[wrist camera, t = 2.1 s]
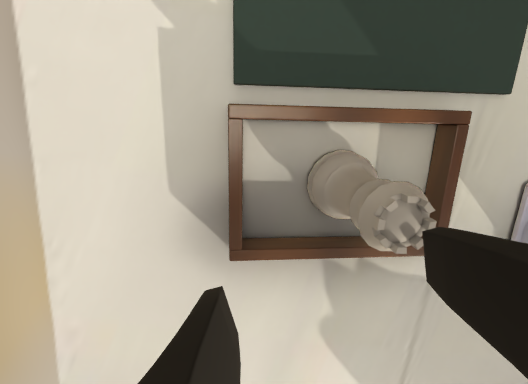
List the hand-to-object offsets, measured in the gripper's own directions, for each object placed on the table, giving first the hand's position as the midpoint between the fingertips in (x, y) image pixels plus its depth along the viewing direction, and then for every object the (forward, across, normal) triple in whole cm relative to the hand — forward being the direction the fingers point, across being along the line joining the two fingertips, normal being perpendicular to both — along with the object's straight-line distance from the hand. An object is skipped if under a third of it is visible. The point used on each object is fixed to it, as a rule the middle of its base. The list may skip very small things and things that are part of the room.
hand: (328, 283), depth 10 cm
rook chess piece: (+10, -4, 0) cm, 11 cm away
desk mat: (+10, -8, -9) cm, 16 cm away
